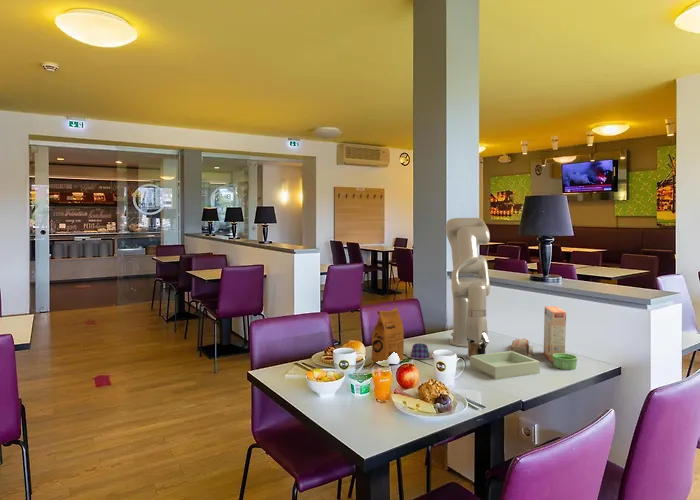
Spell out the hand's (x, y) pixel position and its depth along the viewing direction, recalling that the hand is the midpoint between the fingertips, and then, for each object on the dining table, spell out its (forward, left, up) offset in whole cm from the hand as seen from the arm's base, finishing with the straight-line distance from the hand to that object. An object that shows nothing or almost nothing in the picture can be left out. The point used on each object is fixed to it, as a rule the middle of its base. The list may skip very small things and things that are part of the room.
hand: (476, 355), depth 199 cm
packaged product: (-1, +23, -2) cm, 23 cm away
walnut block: (0, 0, -1) cm, 1 cm away
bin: (+18, 0, -1) cm, 18 cm away
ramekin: (+23, +25, -2) cm, 34 cm away
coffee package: (-7, -38, -1) cm, 39 cm away
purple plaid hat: (-11, -21, -2) cm, 24 cm away
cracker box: (+12, +30, -1) cm, 32 cm away
